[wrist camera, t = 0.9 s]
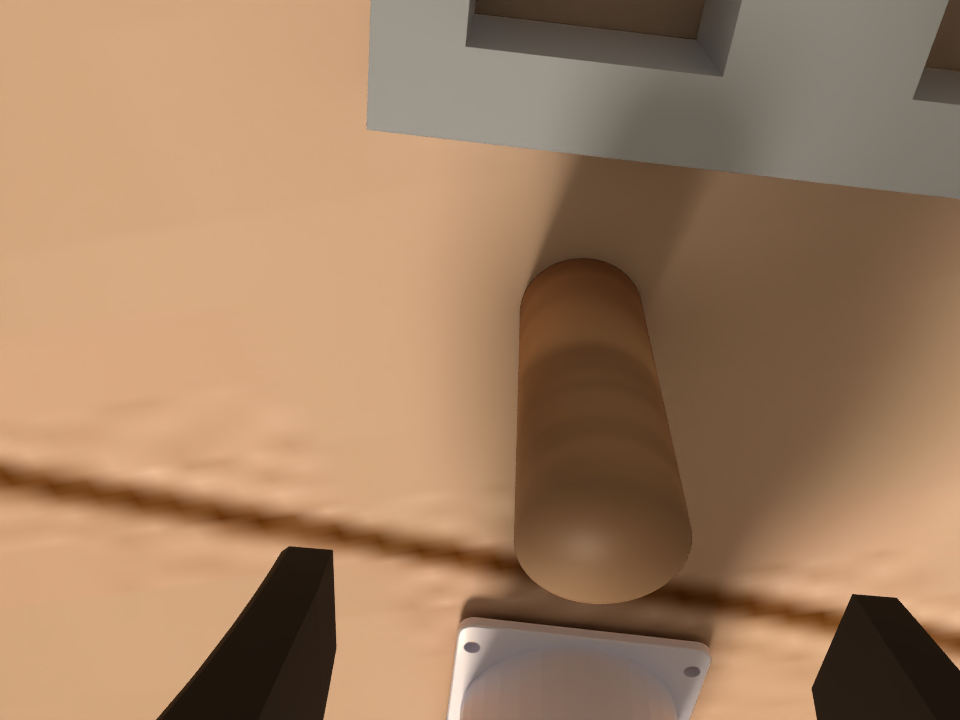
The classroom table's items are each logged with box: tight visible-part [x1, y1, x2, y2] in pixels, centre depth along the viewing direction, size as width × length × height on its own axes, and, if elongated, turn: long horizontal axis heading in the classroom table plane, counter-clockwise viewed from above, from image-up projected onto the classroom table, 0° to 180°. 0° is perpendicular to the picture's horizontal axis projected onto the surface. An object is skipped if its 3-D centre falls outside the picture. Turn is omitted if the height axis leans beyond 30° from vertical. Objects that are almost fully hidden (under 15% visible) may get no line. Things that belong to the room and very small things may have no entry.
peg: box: [514, 258, 692, 604], centre depth 18 cm, size 3×3×8 cm
